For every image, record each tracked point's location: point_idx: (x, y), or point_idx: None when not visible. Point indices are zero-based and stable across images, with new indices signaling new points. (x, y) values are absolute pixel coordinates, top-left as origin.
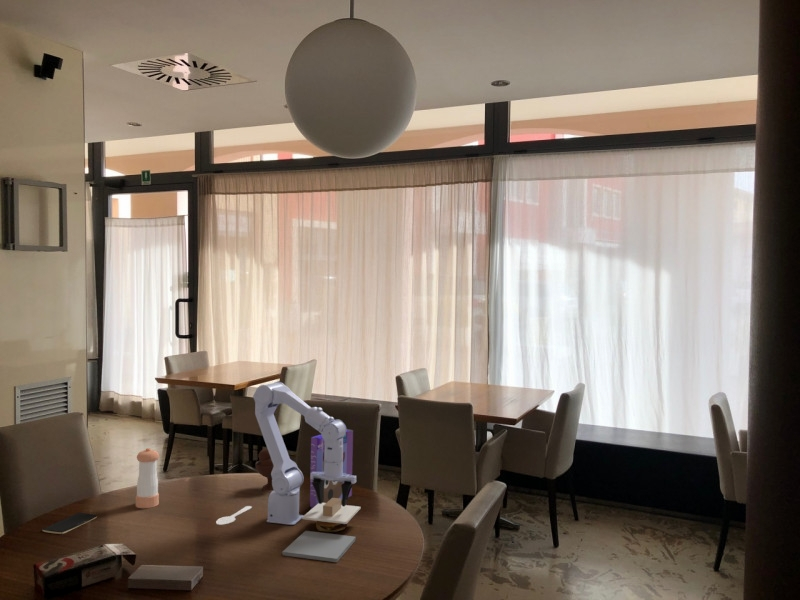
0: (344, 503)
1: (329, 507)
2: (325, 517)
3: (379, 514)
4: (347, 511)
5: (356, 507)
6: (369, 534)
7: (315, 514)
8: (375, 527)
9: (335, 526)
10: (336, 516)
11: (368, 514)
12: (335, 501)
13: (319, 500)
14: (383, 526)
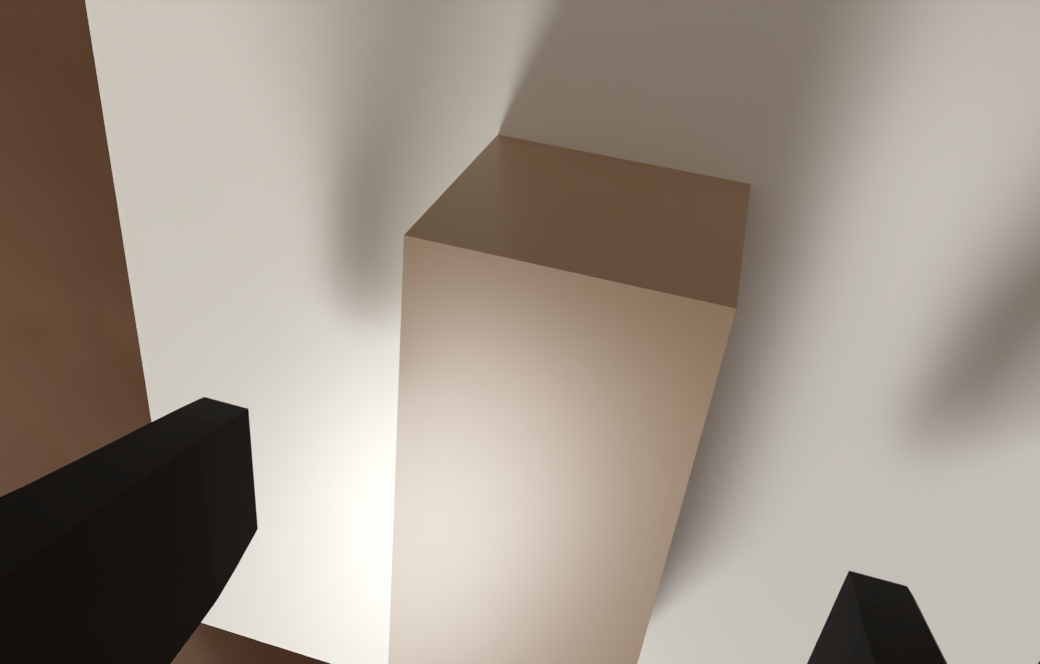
0: (137, 429)
1: (511, 246)
2: (657, 56)
3: (200, 646)
4: (290, 439)
5: (226, 595)
6: (39, 75)
7: (975, 253)
8: (82, 319)
9: None
10: (403, 159)
11: (302, 656)
12: (451, 615)
13: (909, 647)
14: (19, 352)
